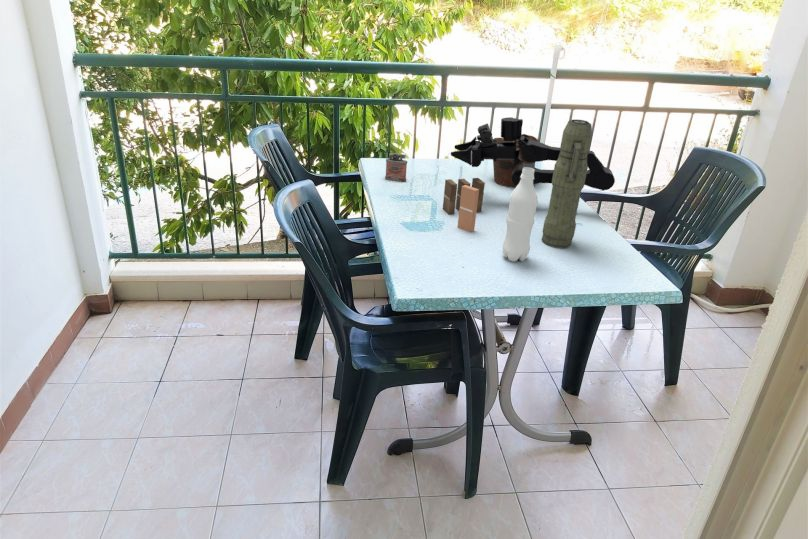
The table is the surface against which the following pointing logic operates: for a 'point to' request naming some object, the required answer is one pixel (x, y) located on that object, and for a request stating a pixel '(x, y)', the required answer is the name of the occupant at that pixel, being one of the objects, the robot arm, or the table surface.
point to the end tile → (468, 208)
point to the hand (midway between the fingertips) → (452, 150)
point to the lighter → (396, 168)
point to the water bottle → (520, 217)
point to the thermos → (567, 184)
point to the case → (508, 165)
